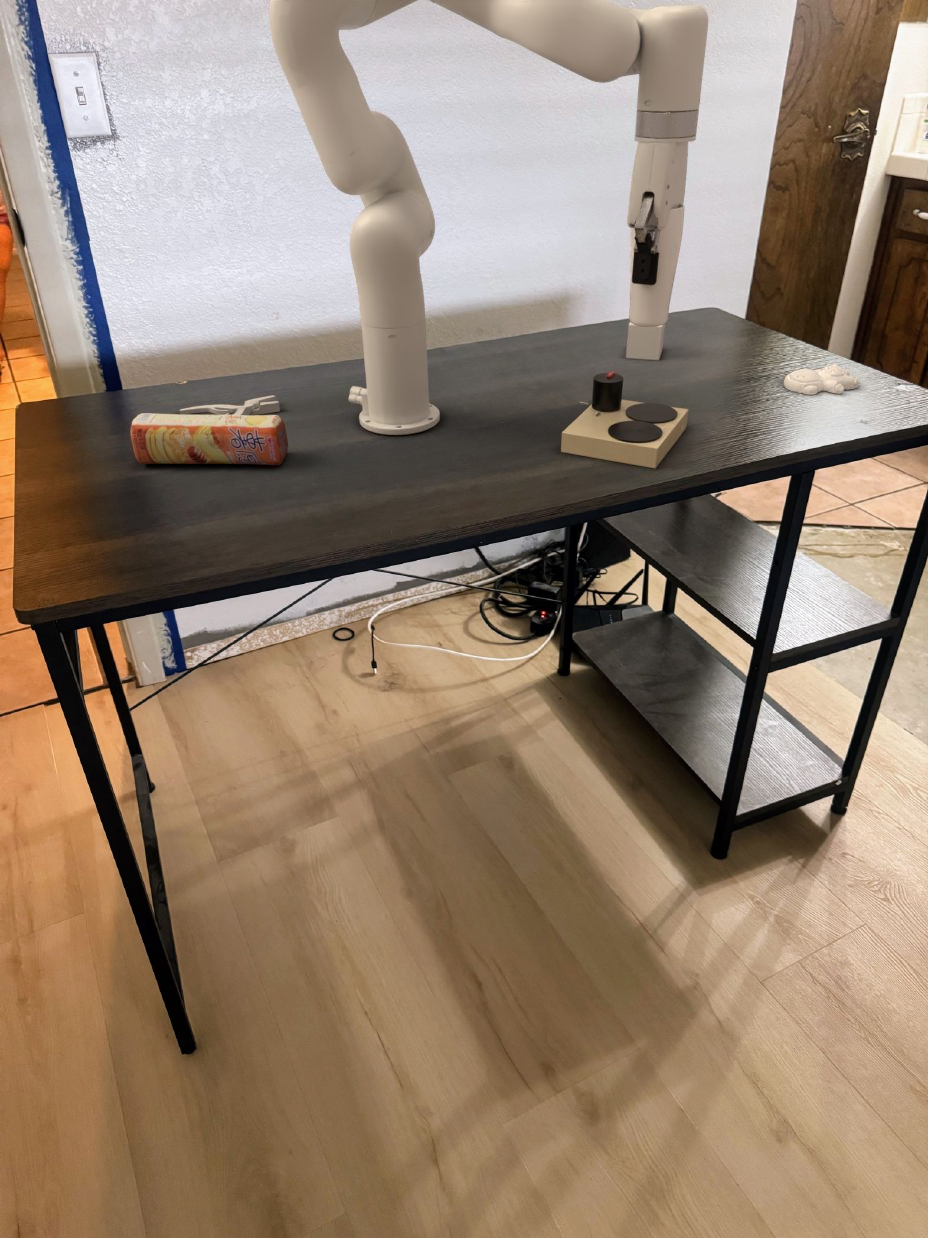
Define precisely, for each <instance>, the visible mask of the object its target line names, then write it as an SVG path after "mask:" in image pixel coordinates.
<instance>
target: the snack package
mask: <svg viewBox="0 0 928 1238" xmlns="http://www.w3.org/2000/svg"><path fill="white" fill-rule="evenodd" d="M130 441H131V444H132V448H133V453H134V456H135V458H136V460H137V462H138V463H140V464H142V465H158V464H163V465H165V464H169V465H196V464H198V465H200V464H201V465H203V464H204V465H209V464H211V465H212V464H213V465H223V464H225V465H261V466H262V465H264V466H265V465H266V466H280V465H282V463H284V460H285V458H286V455H287V453H288V449H289V440H288V435H287V429H286V424H285V422H284V421H283V419H282V417H281V416H280V415H278V414H266V415H265V414H258V415H233V414H230V415H218V414H183V415H181V414H178V413H177V414H176V413H174V414H173V413H151V412H148V413H147V412H141V413H140V414H137V415H136V417H135V418H133V420H132V421H131V425H130Z"/></svg>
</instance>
